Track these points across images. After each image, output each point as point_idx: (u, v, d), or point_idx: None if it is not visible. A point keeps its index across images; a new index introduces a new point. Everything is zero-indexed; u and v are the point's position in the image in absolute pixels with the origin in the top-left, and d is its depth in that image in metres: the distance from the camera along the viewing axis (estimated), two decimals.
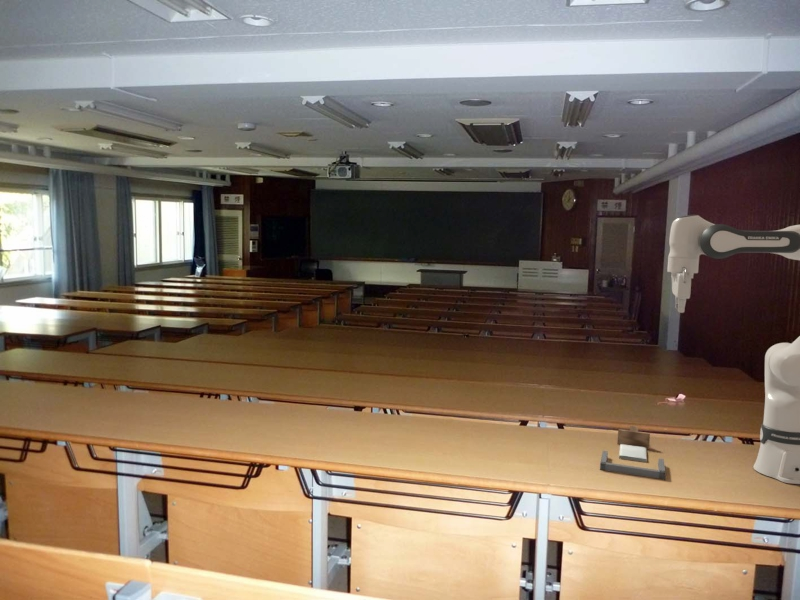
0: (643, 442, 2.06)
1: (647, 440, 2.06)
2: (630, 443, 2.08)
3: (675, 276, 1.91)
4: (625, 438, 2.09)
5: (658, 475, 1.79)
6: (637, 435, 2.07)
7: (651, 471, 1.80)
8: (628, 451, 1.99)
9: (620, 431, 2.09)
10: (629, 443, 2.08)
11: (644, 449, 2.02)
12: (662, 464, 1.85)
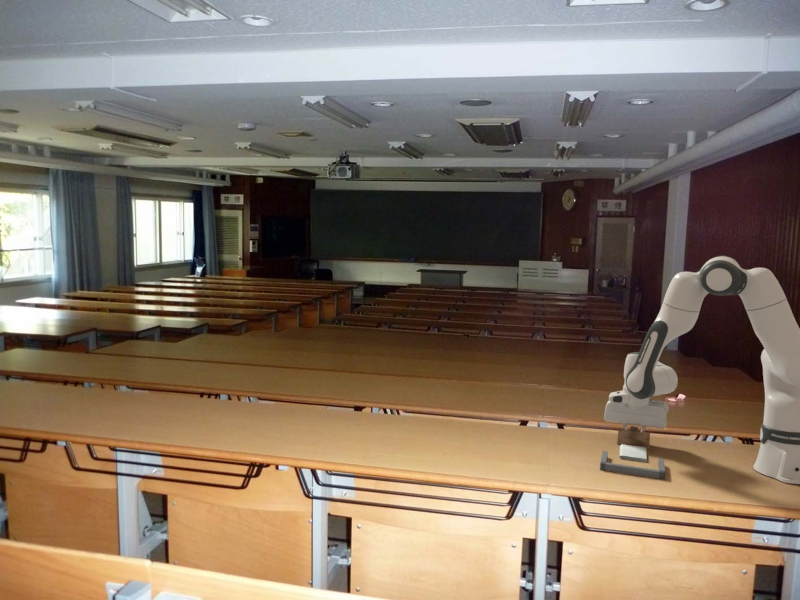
0: (643, 442, 2.06)
1: (647, 440, 2.06)
2: (630, 443, 2.08)
3: (642, 408, 2.09)
4: (625, 438, 2.09)
5: (658, 475, 1.79)
6: (637, 435, 2.07)
7: (651, 471, 1.80)
8: (628, 451, 1.99)
9: (620, 431, 2.09)
10: (629, 443, 2.08)
11: (644, 449, 2.02)
12: (662, 464, 1.85)
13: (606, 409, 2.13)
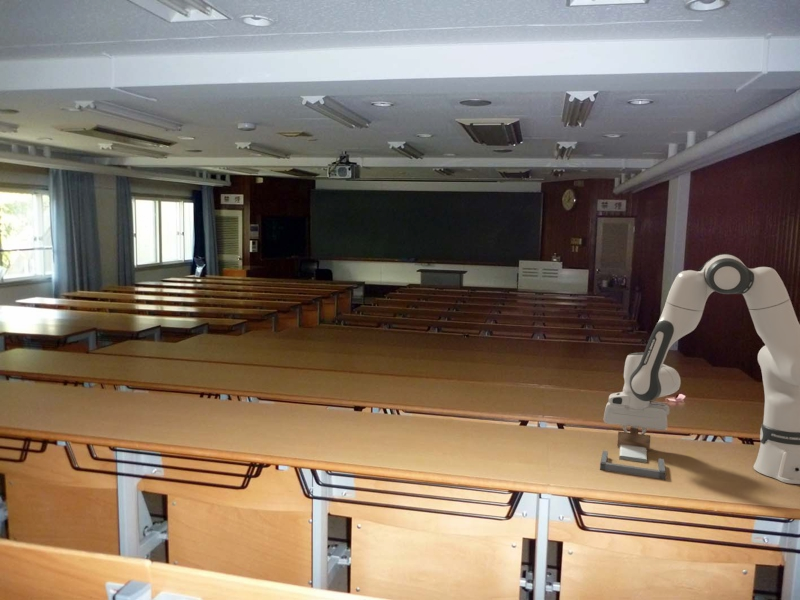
0: (643, 445, 2.04)
1: (647, 443, 2.03)
2: (630, 445, 2.05)
3: (643, 410, 2.05)
4: (625, 441, 2.06)
5: (658, 475, 1.79)
6: (637, 438, 2.04)
7: (651, 471, 1.80)
8: (628, 452, 1.98)
9: (620, 434, 2.06)
10: None
11: (644, 449, 2.01)
12: (662, 464, 1.85)
13: (606, 411, 2.09)
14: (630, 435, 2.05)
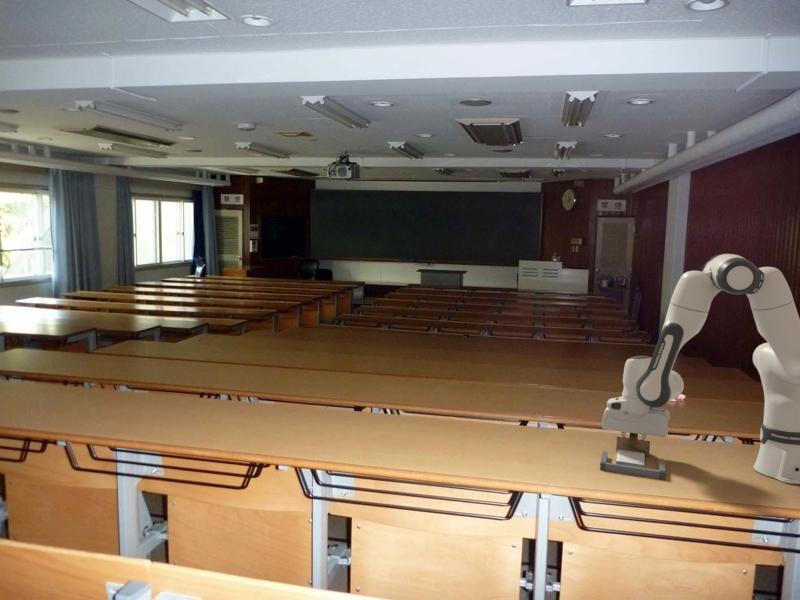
0: (643, 450, 1.98)
1: (647, 449, 1.98)
2: (629, 450, 2.00)
3: (642, 416, 1.98)
4: (624, 446, 2.00)
5: (658, 475, 1.79)
6: (637, 444, 1.98)
7: (651, 471, 1.80)
8: (626, 457, 1.93)
9: (619, 440, 2.00)
10: (628, 450, 2.00)
11: (642, 455, 1.96)
12: (662, 464, 1.85)
13: (604, 416, 2.02)
14: (629, 441, 1.99)
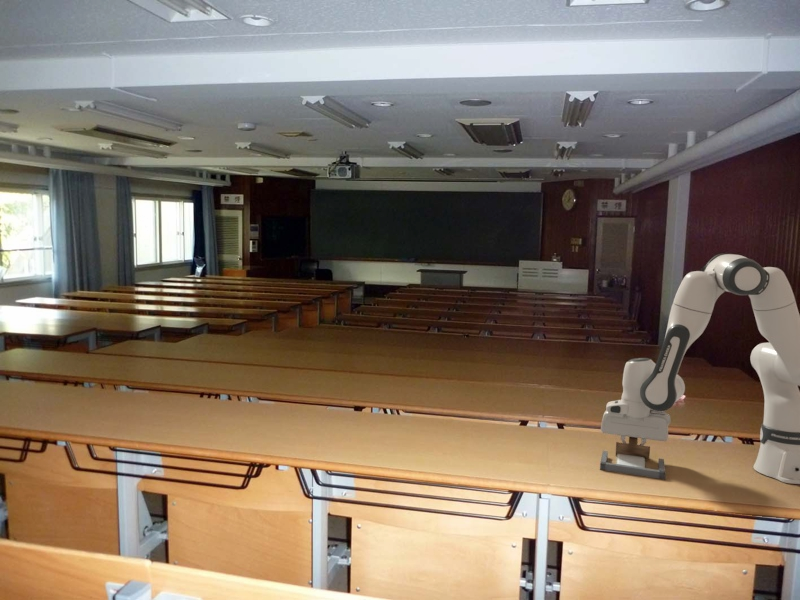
0: (643, 455, 1.94)
1: (647, 454, 1.93)
2: None
3: (642, 419, 1.93)
4: (623, 451, 1.96)
5: (658, 475, 1.79)
6: (636, 449, 1.94)
7: (651, 471, 1.80)
8: (626, 462, 1.89)
9: (618, 446, 1.95)
10: None
11: (643, 459, 1.92)
12: (662, 464, 1.85)
13: (603, 420, 1.98)
14: (629, 447, 1.94)
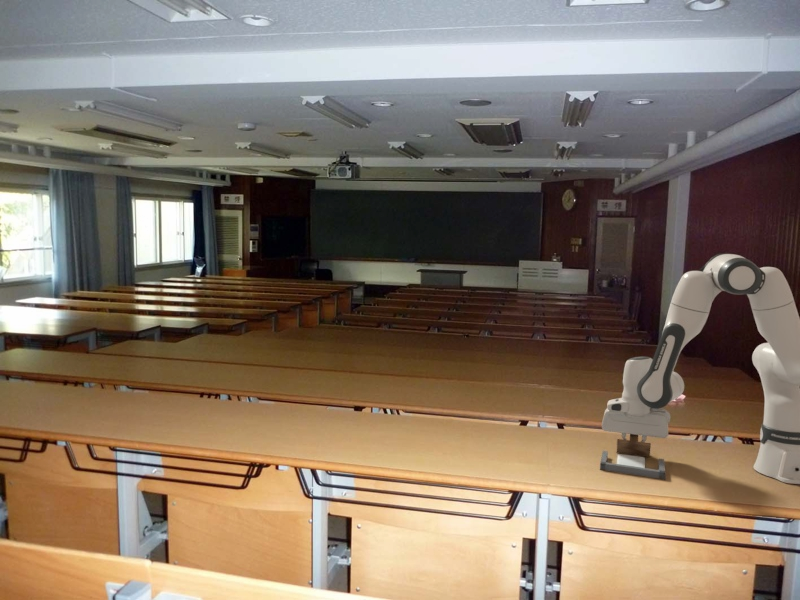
0: (643, 452, 1.97)
1: (648, 450, 1.96)
2: (630, 452, 1.99)
3: (643, 417, 1.96)
4: (624, 448, 1.99)
5: (658, 475, 1.79)
6: (637, 446, 1.97)
7: (651, 471, 1.80)
8: (626, 462, 1.89)
9: (619, 442, 1.98)
10: (629, 452, 1.99)
11: (643, 459, 1.92)
12: (662, 464, 1.85)
13: (604, 418, 2.01)
14: (629, 444, 1.97)
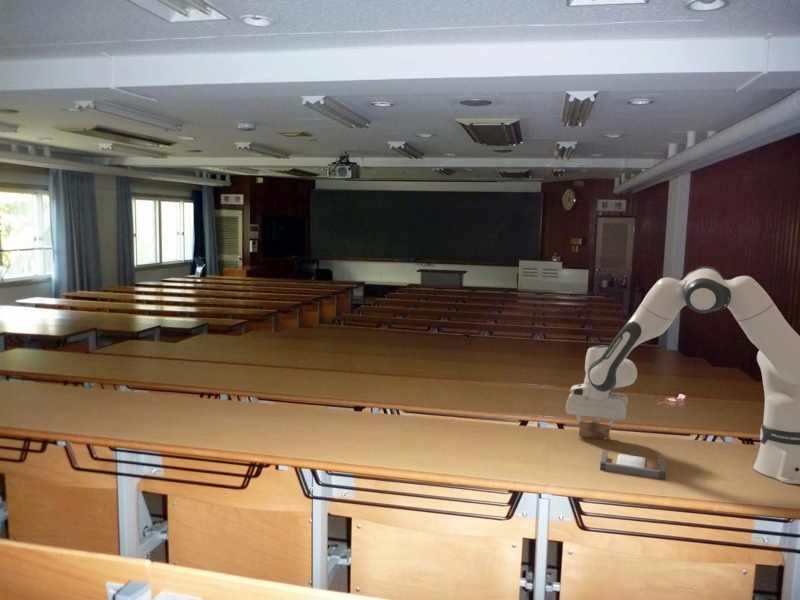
0: (603, 434, 2.14)
1: (607, 432, 2.14)
2: (591, 435, 2.16)
3: (602, 400, 2.14)
4: (586, 430, 2.16)
5: (658, 475, 1.79)
6: (597, 427, 2.15)
7: (651, 471, 1.80)
8: (626, 462, 1.89)
9: (581, 423, 2.17)
10: (590, 435, 2.16)
11: (643, 459, 1.92)
12: (662, 464, 1.85)
13: (568, 401, 2.18)
14: (591, 424, 2.16)
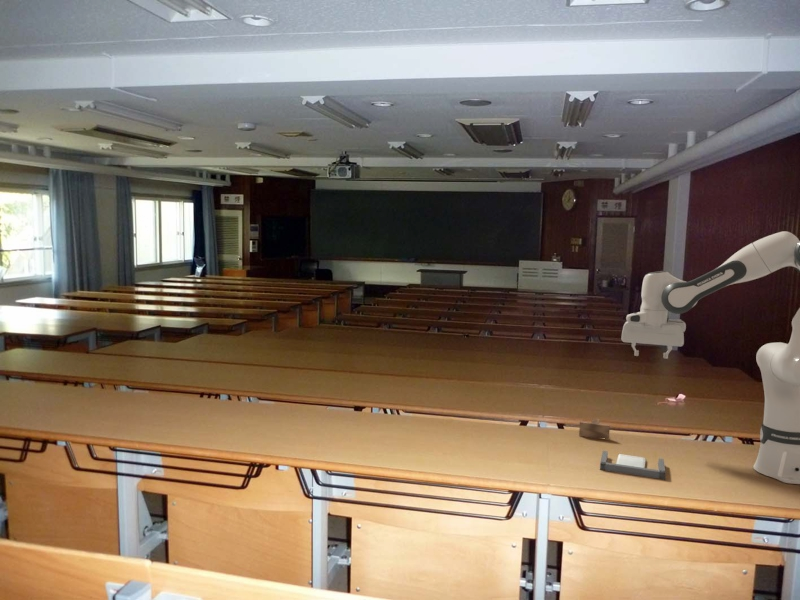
0: (603, 434, 2.14)
1: (607, 432, 2.14)
2: (591, 435, 2.16)
3: (660, 327, 2.11)
4: (586, 430, 2.16)
5: (658, 475, 1.79)
6: (597, 427, 2.15)
7: (651, 471, 1.80)
8: (626, 462, 1.89)
9: (581, 423, 2.17)
10: (590, 435, 2.16)
11: (643, 460, 1.92)
12: (662, 464, 1.85)
13: (623, 329, 2.15)
14: (591, 424, 2.16)
